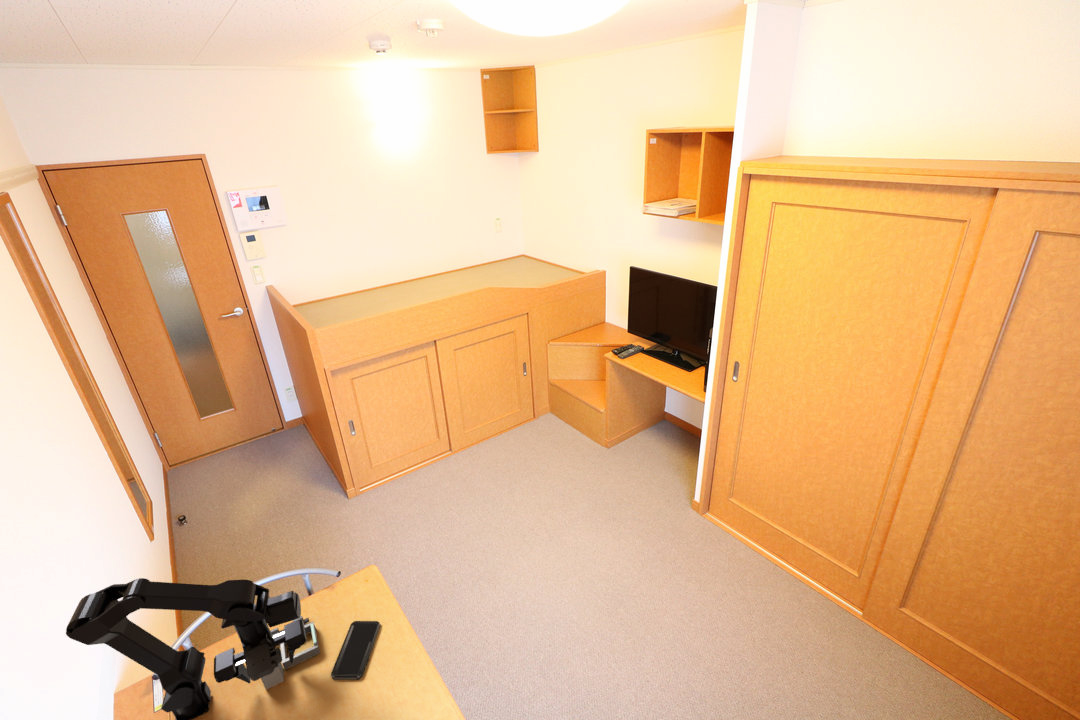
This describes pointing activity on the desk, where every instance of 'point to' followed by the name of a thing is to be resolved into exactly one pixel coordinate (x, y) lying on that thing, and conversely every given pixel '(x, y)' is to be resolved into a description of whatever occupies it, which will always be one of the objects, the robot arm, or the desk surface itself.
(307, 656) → the frame
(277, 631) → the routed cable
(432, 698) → the desk surface
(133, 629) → the robot arm
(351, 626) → the phone
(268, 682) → the block
